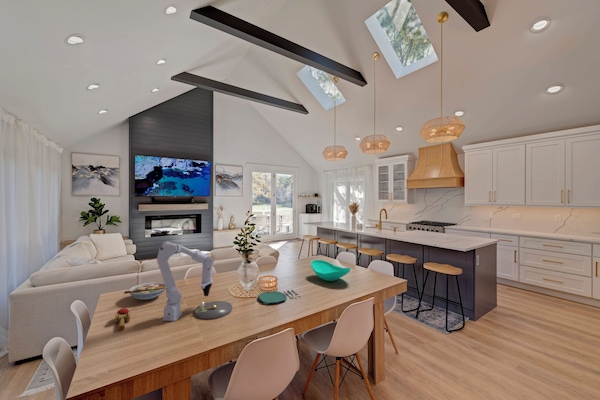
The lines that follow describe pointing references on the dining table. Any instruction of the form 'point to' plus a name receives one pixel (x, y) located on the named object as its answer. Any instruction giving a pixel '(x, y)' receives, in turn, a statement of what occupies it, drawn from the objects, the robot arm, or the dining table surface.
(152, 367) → the dining table surface
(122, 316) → the kendama
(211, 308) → the brass vanity light
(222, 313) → the tuner dial
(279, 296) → the cutlery set
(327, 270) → the table top decor
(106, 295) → the dining table surface
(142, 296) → the ramen bowl
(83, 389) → the dining table surface
